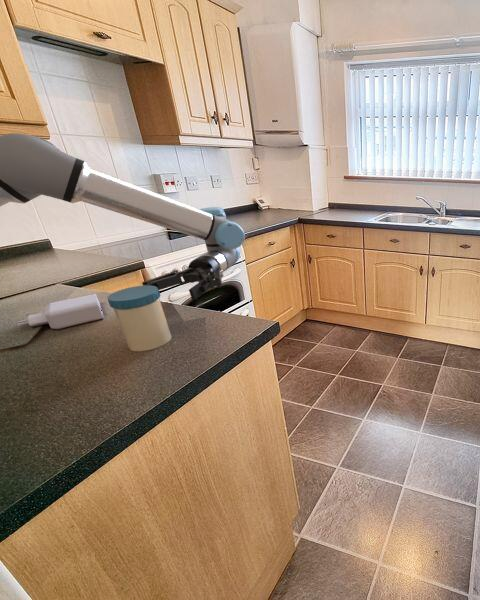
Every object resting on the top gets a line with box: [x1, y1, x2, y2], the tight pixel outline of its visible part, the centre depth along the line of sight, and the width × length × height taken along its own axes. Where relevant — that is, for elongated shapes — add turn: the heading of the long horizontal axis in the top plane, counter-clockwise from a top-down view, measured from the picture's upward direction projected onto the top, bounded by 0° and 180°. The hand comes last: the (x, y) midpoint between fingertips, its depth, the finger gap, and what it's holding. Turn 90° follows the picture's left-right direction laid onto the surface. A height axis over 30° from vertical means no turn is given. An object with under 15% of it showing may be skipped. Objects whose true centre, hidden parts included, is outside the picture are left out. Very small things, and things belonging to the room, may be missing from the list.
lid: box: [107, 285, 161, 309], centre depth 71 cm, size 9×9×2 cm
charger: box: [16, 293, 105, 330], centre depth 83 cm, size 5×9×15 cm
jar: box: [112, 298, 173, 352], centre depth 73 cm, size 8×8×12 cm
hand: (163, 296), depth 81 cm, fingers open, 13 cm apart
